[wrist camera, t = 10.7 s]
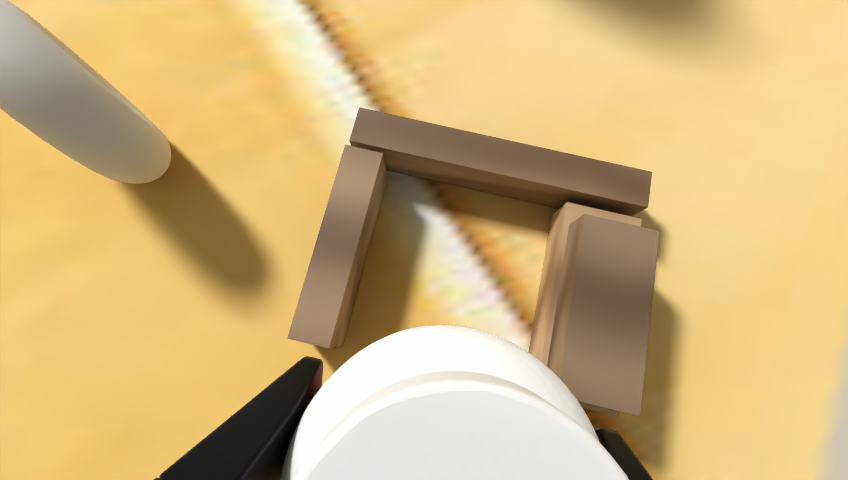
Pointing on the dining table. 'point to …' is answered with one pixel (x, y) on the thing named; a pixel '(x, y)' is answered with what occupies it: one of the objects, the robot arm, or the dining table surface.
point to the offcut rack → (564, 258)
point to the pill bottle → (446, 415)
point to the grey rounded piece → (74, 104)
